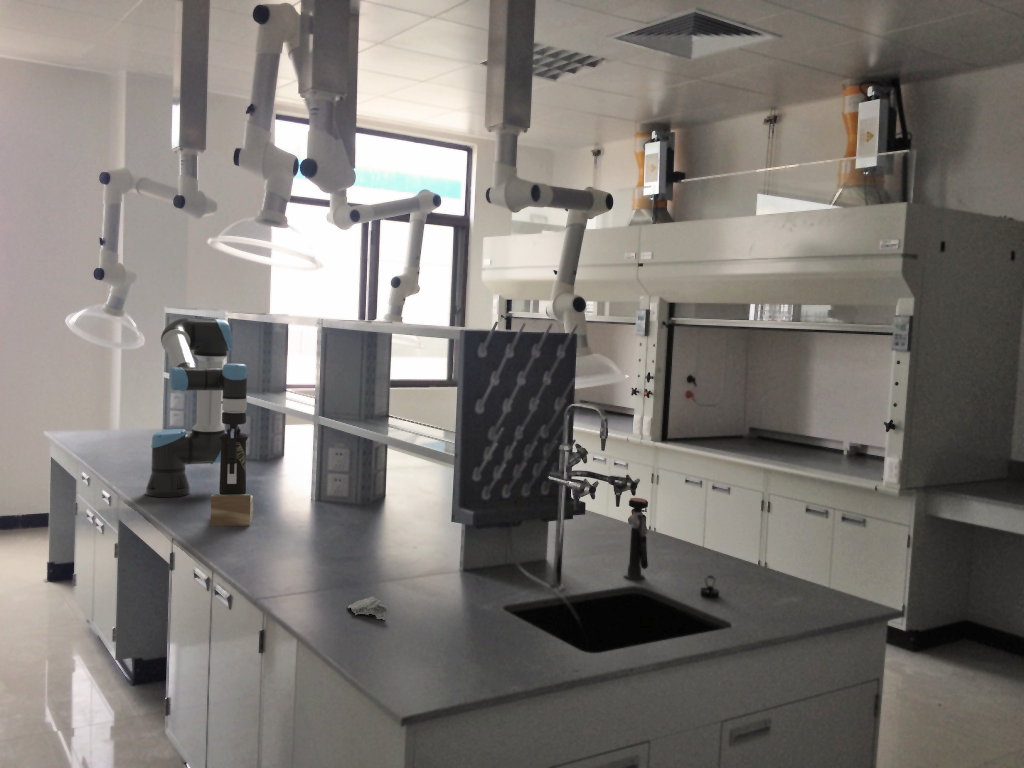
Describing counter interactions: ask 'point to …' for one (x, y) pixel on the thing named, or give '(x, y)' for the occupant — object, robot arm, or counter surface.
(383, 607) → the stone
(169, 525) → the counter surface
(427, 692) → the counter surface
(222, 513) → the stand
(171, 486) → the robot arm
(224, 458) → the container
